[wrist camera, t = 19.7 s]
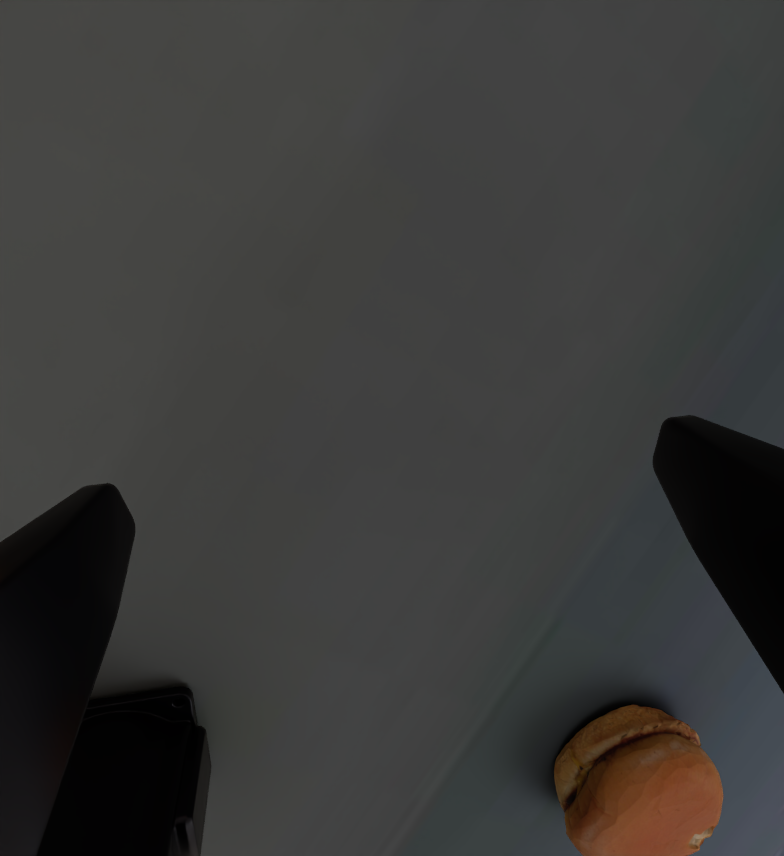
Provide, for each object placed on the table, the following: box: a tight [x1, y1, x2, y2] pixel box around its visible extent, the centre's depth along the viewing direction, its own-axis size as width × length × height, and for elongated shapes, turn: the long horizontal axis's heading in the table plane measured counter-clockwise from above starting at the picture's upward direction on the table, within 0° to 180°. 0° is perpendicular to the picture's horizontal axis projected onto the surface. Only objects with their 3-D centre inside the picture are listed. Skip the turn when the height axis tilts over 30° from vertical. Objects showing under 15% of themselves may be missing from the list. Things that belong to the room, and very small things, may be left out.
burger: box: [554, 705, 723, 856], centre depth 29 cm, size 10×9×5 cm
